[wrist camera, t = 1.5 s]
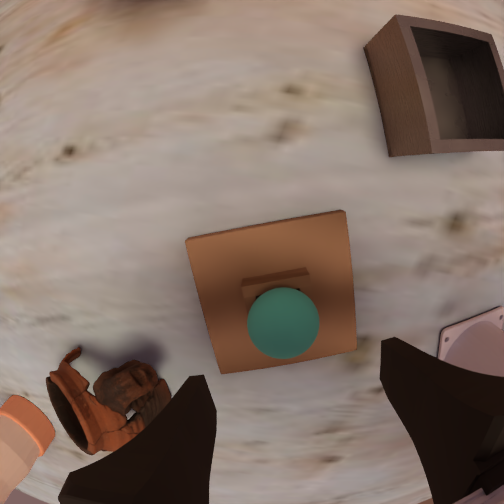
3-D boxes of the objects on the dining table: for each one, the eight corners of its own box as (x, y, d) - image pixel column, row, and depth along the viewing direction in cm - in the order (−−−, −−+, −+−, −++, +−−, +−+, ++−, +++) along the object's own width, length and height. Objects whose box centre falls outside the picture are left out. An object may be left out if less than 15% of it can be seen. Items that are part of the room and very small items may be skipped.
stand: (353, 342, 21) (362, 360, 19) (222, 366, 22) (219, 386, 20) (341, 209, 19) (352, 214, 17) (188, 237, 20) (179, 246, 17)
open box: (472, 151, 18) (520, 150, 12) (389, 157, 18) (432, 153, 13) (450, 54, 16) (491, 34, 11) (363, 47, 16) (395, 14, 11)
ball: (315, 330, 19) (328, 365, 15) (254, 341, 19) (254, 378, 15) (308, 271, 18) (322, 297, 14) (241, 284, 18) (239, 313, 14)
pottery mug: (154, 434, 25) (90, 473, 18) (102, 358, 28) (35, 383, 20) (217, 393, 20) (129, 453, 13) (143, 290, 22) (47, 314, 15)
